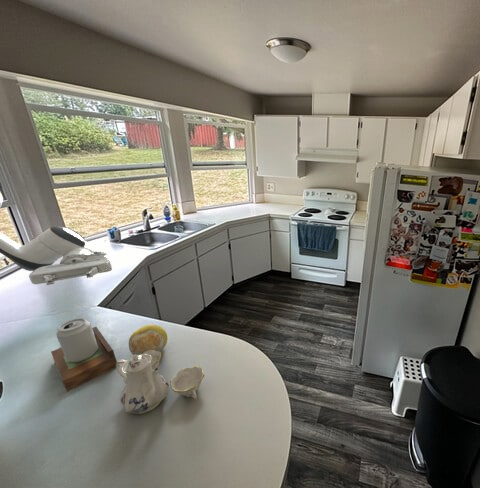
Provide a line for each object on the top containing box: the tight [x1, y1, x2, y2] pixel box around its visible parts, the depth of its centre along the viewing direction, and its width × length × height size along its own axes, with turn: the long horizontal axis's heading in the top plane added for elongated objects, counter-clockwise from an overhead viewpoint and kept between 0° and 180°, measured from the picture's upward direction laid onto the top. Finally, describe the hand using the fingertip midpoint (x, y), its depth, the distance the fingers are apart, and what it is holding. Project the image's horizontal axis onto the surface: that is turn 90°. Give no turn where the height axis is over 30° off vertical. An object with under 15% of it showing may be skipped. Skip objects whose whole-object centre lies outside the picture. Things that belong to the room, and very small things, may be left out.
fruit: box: [128, 324, 168, 356], centre depth 85 cm, size 10×11×10 cm
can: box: [55, 317, 98, 362], centre depth 78 cm, size 8×8×12 cm
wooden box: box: [50, 326, 118, 392], centre depth 80 cm, size 12×18×7 cm, turn 53°
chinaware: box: [115, 350, 205, 416], centre depth 71 cm, size 28×17×17 cm, turn 74°
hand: (69, 279), depth 81 cm, fingers open, 8 cm apart
